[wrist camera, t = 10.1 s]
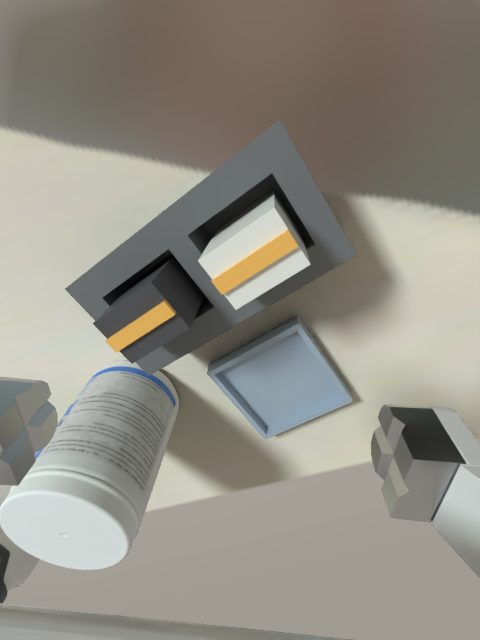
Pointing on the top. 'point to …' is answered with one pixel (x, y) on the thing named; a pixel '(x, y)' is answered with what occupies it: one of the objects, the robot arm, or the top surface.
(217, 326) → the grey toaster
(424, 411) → the robot arm
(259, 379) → the slate tray
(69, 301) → the top surface
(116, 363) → the supplement tub
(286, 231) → the white orange-striped block
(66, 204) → the top surface
